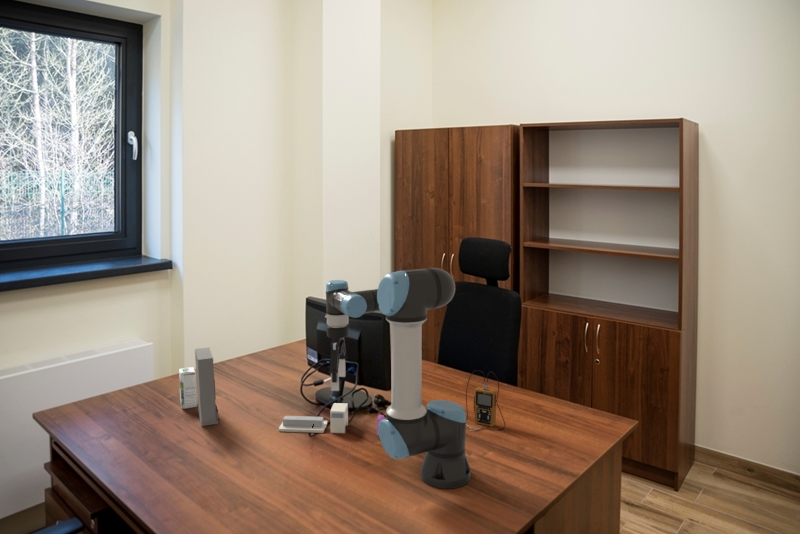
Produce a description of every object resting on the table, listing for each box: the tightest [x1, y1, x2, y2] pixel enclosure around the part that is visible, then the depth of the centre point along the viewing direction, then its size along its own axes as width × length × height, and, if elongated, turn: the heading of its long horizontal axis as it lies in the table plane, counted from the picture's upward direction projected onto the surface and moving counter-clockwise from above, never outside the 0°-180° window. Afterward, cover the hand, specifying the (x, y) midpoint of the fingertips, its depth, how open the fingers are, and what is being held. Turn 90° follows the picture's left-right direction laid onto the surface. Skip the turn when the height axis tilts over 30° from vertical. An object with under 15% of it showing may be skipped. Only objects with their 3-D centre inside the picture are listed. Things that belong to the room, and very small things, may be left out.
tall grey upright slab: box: [194, 347, 219, 427], centre depth 239 cm, size 14×6×25 cm, turn 22°
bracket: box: [376, 414, 385, 437], centre depth 231 cm, size 13×6×7 cm, turn 161°
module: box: [329, 402, 349, 434], centre depth 231 cm, size 5×8×8 cm, turn 176°
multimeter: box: [465, 369, 506, 432], centre depth 231 cm, size 15×10×20 cm
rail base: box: [277, 415, 328, 434], centre depth 233 cm, size 16×8×4 cm, turn 86°
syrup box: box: [178, 367, 198, 410], centre depth 252 cm, size 6×6×14 cm
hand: (338, 383), depth 229 cm, fingers open, 13 cm apart
